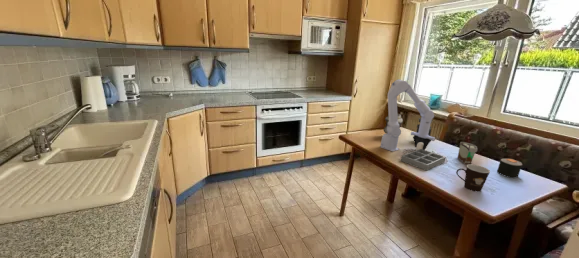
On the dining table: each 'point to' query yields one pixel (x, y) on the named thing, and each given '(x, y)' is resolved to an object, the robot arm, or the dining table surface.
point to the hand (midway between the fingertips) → (420, 148)
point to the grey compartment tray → (423, 159)
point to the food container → (466, 152)
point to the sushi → (509, 167)
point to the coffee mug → (474, 177)
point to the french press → (418, 130)
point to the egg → (419, 146)
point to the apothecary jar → (388, 121)
